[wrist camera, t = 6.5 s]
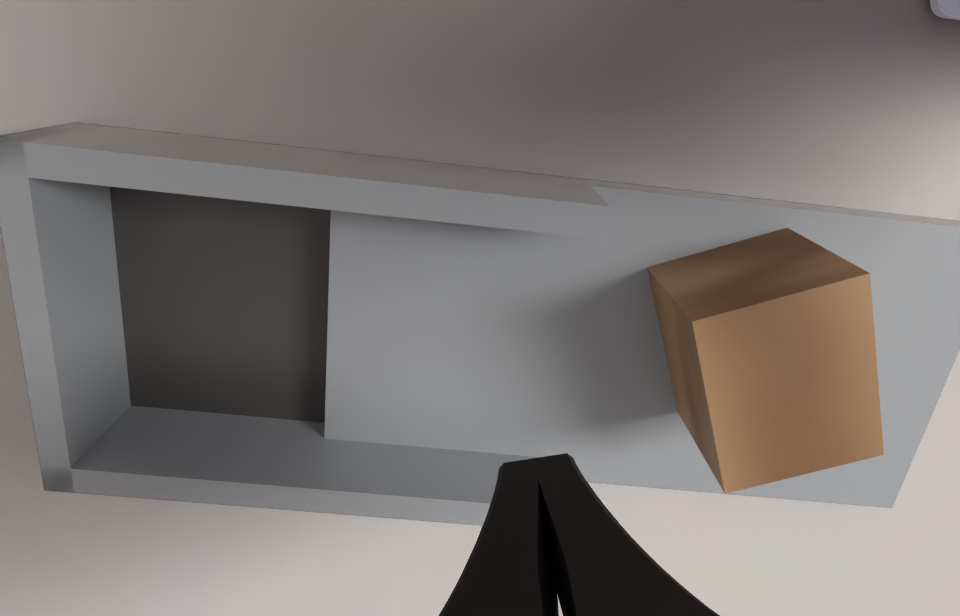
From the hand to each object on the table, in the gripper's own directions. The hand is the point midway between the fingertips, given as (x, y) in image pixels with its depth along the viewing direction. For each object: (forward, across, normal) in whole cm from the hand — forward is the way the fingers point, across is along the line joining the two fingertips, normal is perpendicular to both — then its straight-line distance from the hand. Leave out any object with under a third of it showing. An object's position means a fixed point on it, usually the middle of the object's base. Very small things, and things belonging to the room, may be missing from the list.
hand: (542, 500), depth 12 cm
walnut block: (+7, -6, +1) cm, 10 cm away
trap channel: (+8, +1, 0) cm, 8 cm away
